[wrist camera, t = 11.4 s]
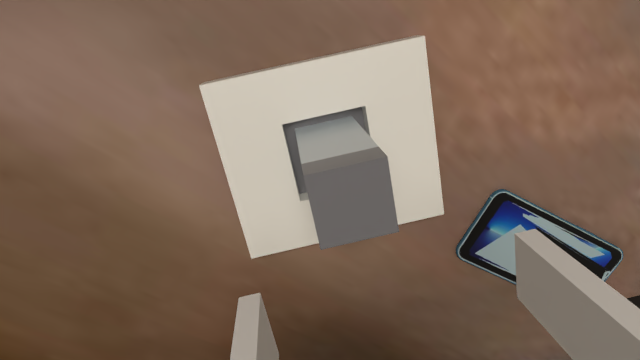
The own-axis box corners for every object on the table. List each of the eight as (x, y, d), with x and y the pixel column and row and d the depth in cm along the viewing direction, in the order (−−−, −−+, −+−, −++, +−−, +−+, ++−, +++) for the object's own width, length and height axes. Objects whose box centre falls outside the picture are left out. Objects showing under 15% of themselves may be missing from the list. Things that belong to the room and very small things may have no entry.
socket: (252, 247, 35) (251, 258, 34) (203, 82, 30) (199, 85, 29) (436, 205, 36) (444, 214, 34) (416, 35, 31) (424, 35, 29)
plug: (307, 182, 34) (320, 249, 23) (294, 128, 32) (303, 175, 22) (361, 170, 34) (399, 231, 23) (351, 115, 32) (387, 156, 22)
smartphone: (499, 186, 35) (628, 252, 39) (494, 182, 36) (620, 247, 39) (452, 256, 37) (579, 314, 40) (448, 251, 38) (572, 307, 41)
